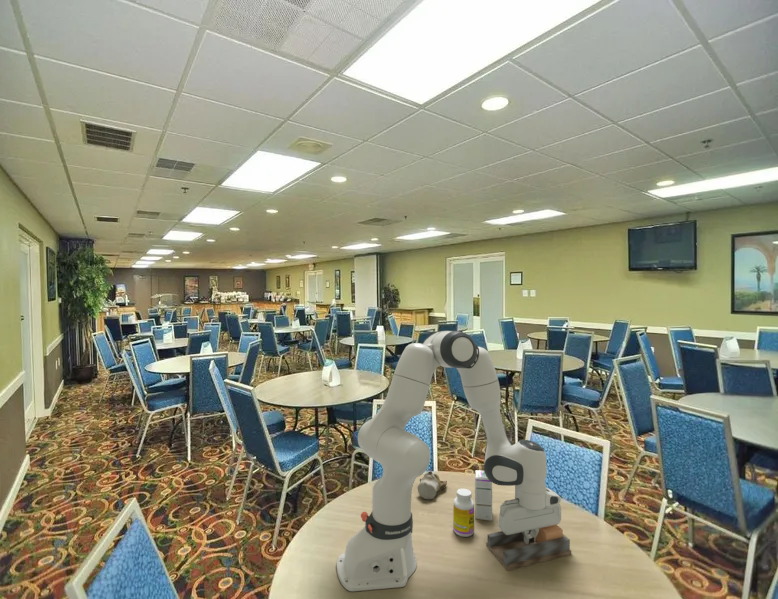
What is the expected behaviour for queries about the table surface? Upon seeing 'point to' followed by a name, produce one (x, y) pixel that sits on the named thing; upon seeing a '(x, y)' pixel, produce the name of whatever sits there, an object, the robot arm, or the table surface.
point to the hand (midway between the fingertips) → (529, 542)
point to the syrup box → (483, 496)
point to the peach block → (549, 533)
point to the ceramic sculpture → (430, 485)
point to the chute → (525, 549)
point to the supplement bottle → (463, 513)
